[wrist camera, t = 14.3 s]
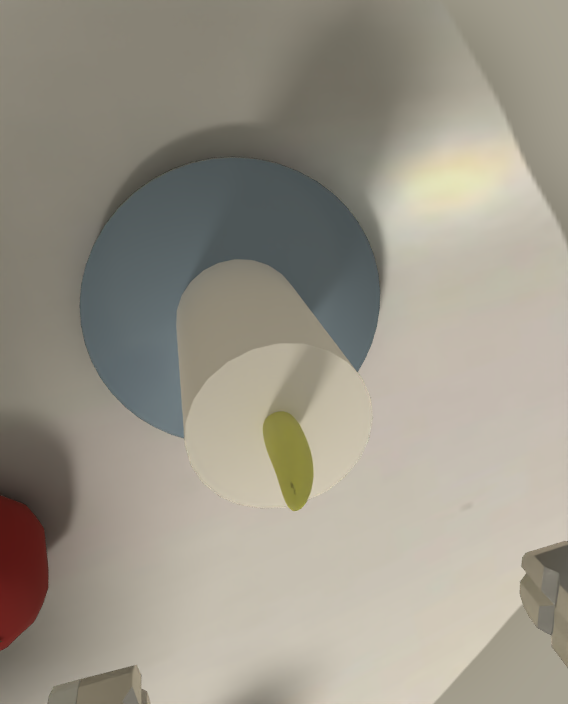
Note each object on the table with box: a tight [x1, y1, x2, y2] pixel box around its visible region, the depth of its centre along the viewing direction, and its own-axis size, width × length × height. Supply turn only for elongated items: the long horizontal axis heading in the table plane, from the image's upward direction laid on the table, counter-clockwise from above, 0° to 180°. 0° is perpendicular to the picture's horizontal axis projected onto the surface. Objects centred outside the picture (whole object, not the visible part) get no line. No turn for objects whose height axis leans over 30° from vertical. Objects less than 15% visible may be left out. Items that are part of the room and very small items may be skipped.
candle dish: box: [80, 157, 380, 438], centre depth 28 cm, size 15×15×2 cm
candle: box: [176, 259, 373, 511], centre depth 20 cm, size 6×6×15 cm
